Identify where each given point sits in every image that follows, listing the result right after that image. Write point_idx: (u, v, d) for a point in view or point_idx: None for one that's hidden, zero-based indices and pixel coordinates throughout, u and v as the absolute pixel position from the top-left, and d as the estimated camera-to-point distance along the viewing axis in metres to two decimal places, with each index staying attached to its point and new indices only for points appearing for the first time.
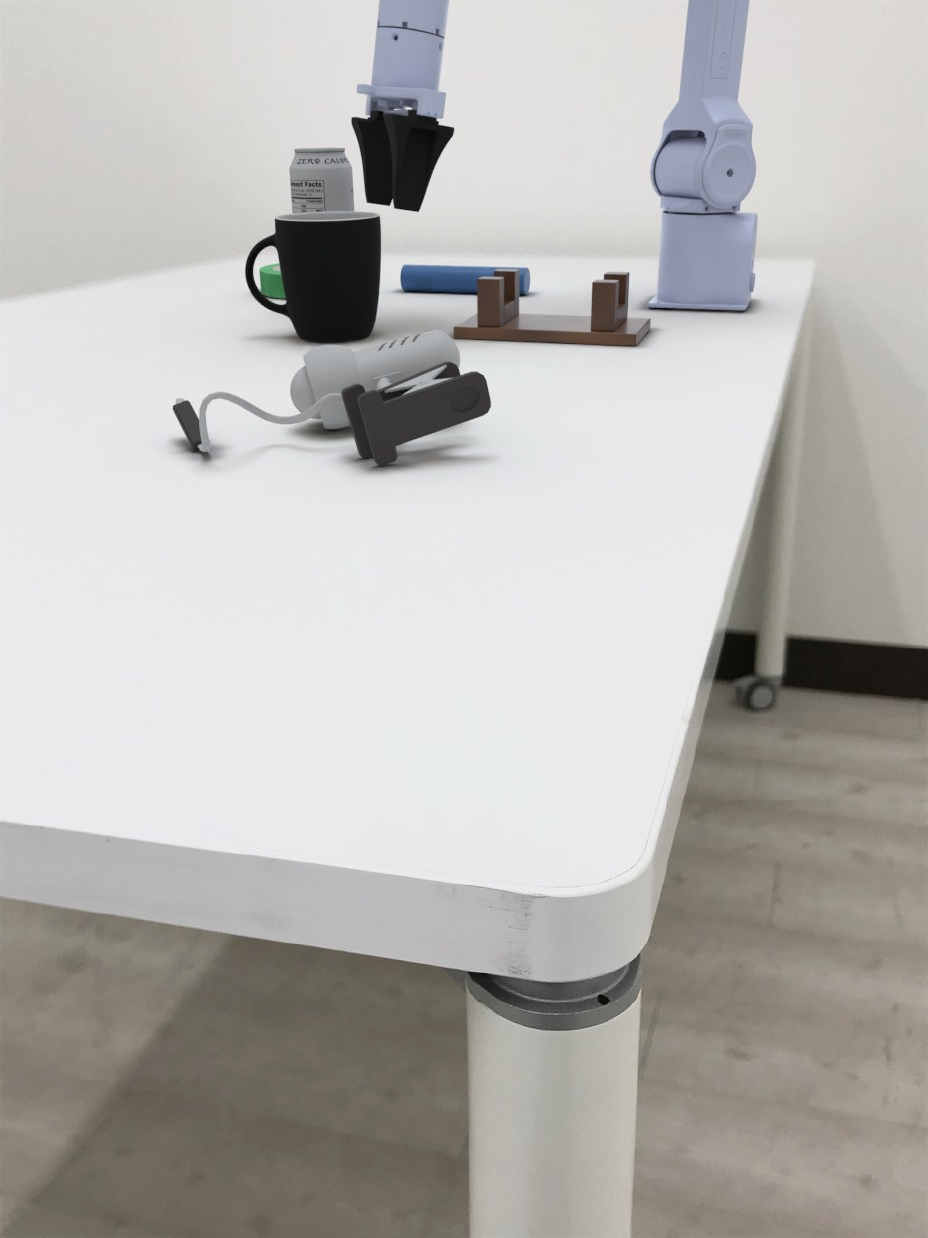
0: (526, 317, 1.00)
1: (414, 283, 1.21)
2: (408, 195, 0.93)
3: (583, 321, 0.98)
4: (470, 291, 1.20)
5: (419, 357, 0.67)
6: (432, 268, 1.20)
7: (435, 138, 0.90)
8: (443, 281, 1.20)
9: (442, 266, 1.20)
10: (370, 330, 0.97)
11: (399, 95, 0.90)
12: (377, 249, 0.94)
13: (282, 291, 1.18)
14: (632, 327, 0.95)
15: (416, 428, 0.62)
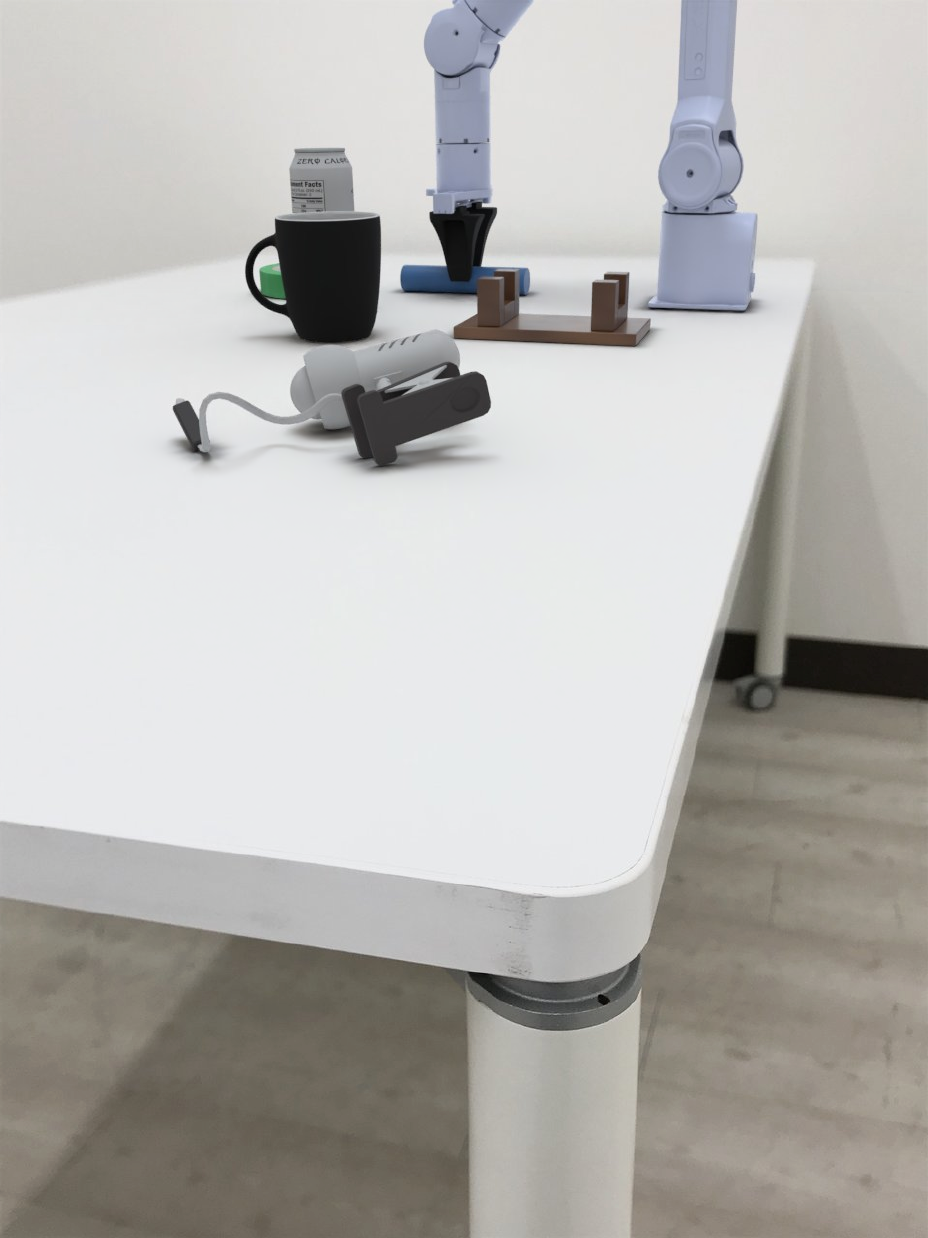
0: (526, 317, 1.00)
1: (414, 283, 1.21)
2: (457, 270, 1.18)
3: (583, 321, 0.98)
4: (470, 291, 1.20)
5: (419, 357, 0.67)
6: (432, 268, 1.20)
7: (465, 225, 1.15)
8: (443, 281, 1.20)
9: (442, 266, 1.20)
10: (370, 330, 0.97)
11: None
12: (377, 249, 0.94)
13: (282, 291, 1.18)
14: (632, 327, 0.95)
15: (416, 428, 0.62)
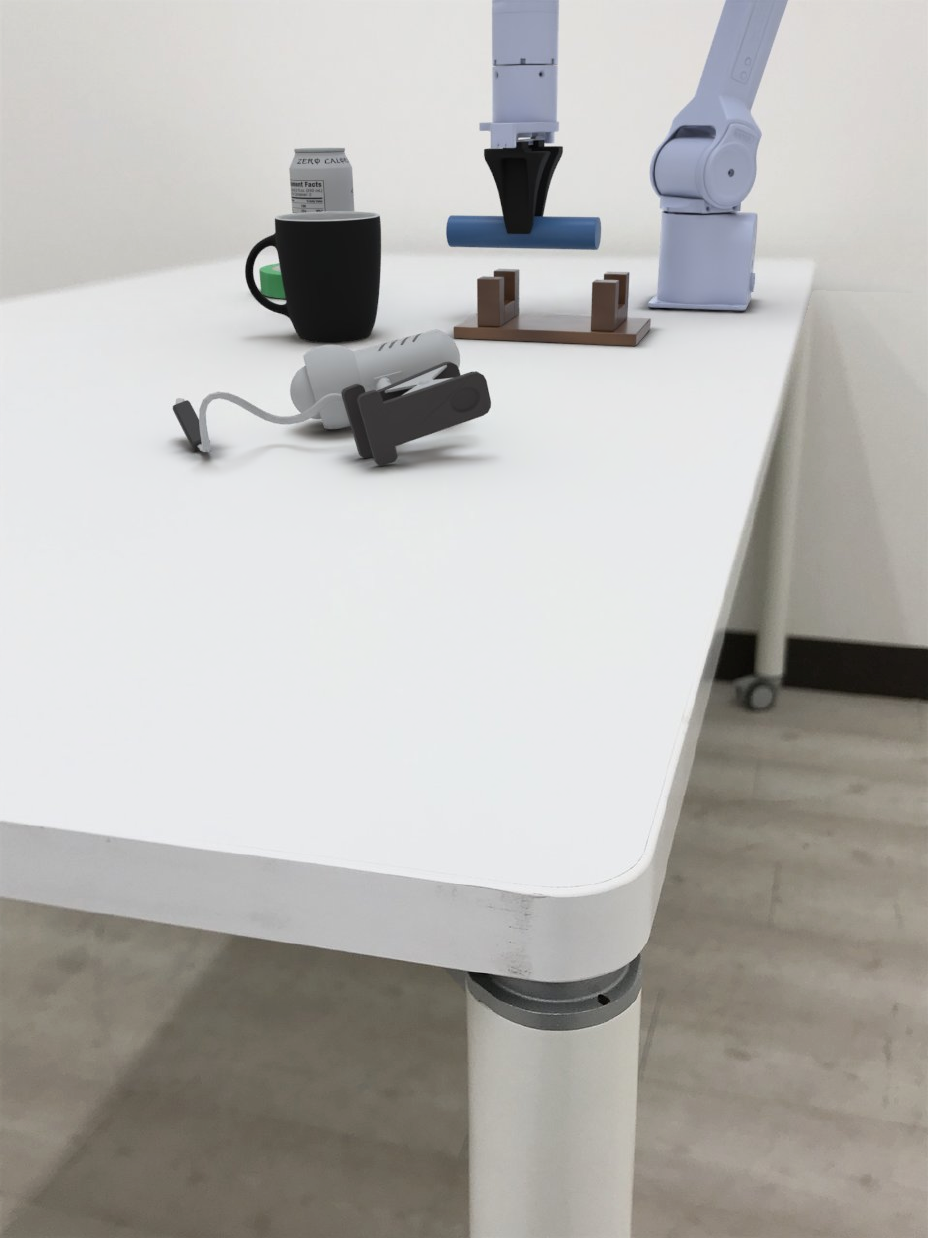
0: (526, 317, 1.00)
1: (463, 237, 1.02)
2: (515, 220, 0.99)
3: (583, 321, 0.98)
4: (529, 246, 1.01)
5: (419, 357, 0.67)
6: (484, 219, 1.01)
7: (527, 164, 0.96)
8: (497, 234, 1.01)
9: (496, 216, 1.01)
10: (370, 330, 0.97)
11: None
12: (377, 249, 0.94)
13: (282, 291, 1.18)
14: (632, 327, 0.95)
15: (416, 428, 0.62)
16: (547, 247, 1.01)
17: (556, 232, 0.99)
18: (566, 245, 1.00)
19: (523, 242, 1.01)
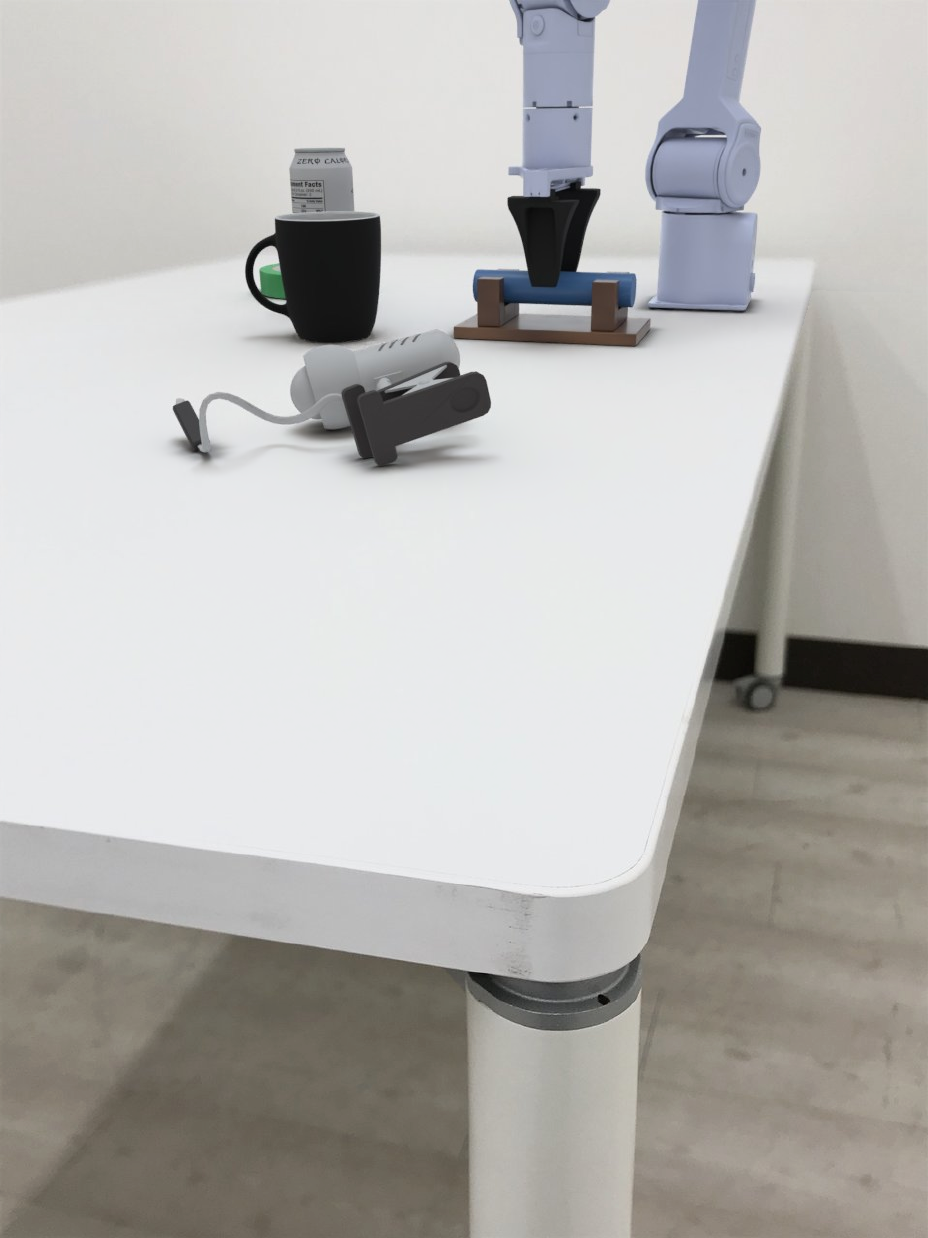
0: (526, 317, 1.00)
1: None
2: (541, 272, 0.92)
3: (583, 321, 0.98)
4: (560, 301, 0.96)
5: (419, 357, 0.67)
6: (514, 272, 0.96)
7: (554, 214, 0.89)
8: (527, 287, 0.96)
9: (526, 271, 0.97)
10: (370, 330, 0.97)
11: None
12: (377, 249, 0.94)
13: (282, 291, 1.18)
14: (632, 327, 0.95)
15: (416, 428, 0.62)
16: (579, 303, 0.96)
17: (590, 285, 0.94)
18: None
19: (554, 296, 0.96)
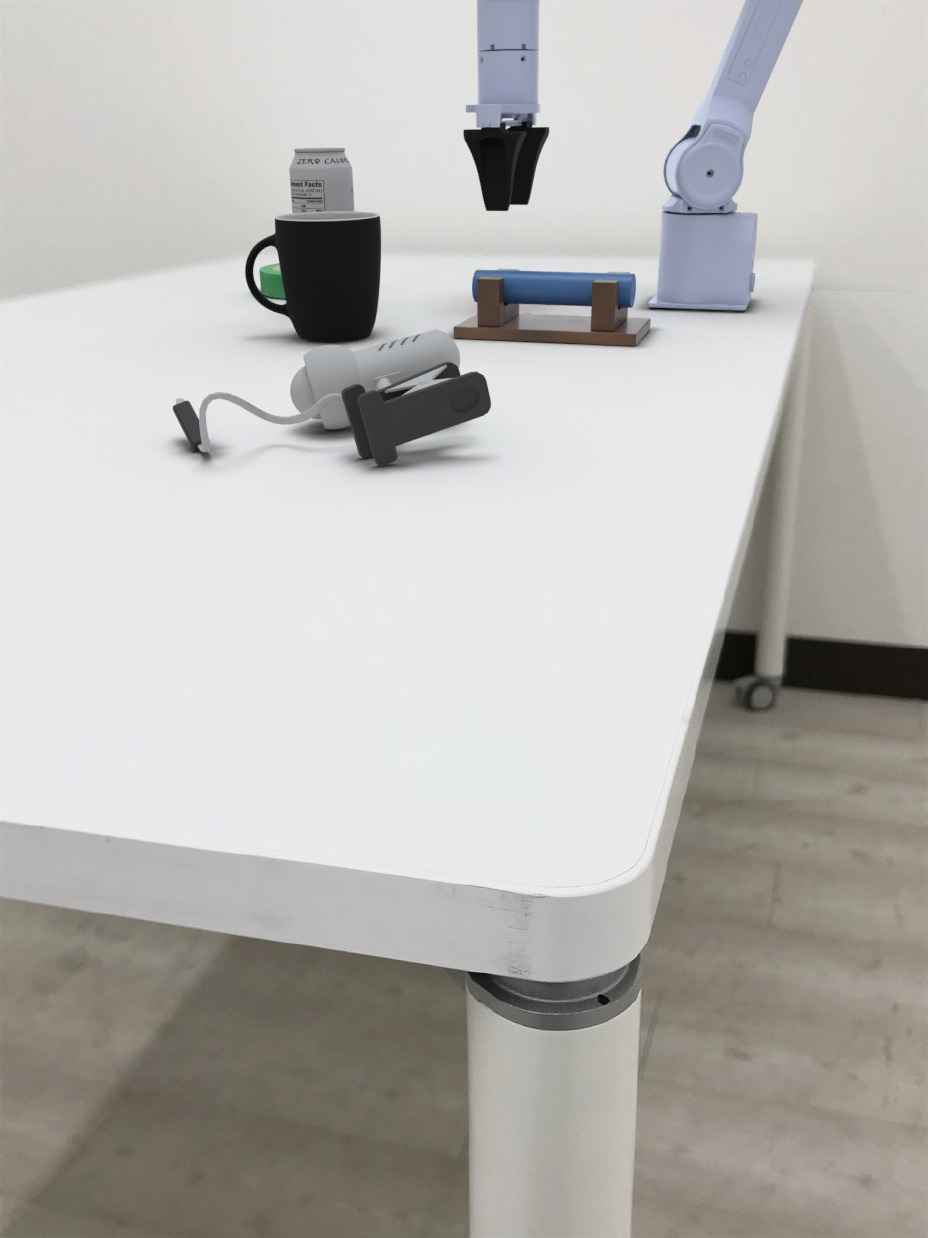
0: (526, 317, 1.00)
1: None
2: (494, 197, 1.04)
3: (583, 321, 0.98)
4: (560, 303, 0.96)
5: (419, 357, 0.67)
6: (512, 274, 0.96)
7: (504, 144, 1.01)
8: (527, 290, 0.96)
9: (525, 272, 0.96)
10: (370, 330, 0.97)
11: None
12: (377, 249, 0.94)
13: (282, 291, 1.18)
14: (632, 327, 0.95)
15: (416, 428, 0.62)
16: (579, 304, 0.96)
17: (589, 288, 0.94)
18: None
19: (554, 299, 0.96)
